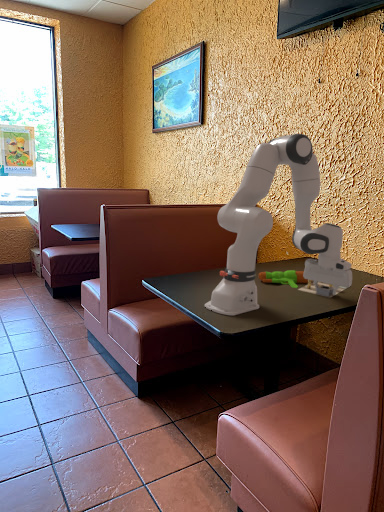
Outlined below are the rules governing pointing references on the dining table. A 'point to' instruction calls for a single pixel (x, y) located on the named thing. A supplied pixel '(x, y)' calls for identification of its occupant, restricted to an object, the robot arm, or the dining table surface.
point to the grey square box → (324, 290)
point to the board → (318, 286)
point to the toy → (284, 277)
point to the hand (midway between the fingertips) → (325, 292)
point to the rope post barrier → (310, 284)
